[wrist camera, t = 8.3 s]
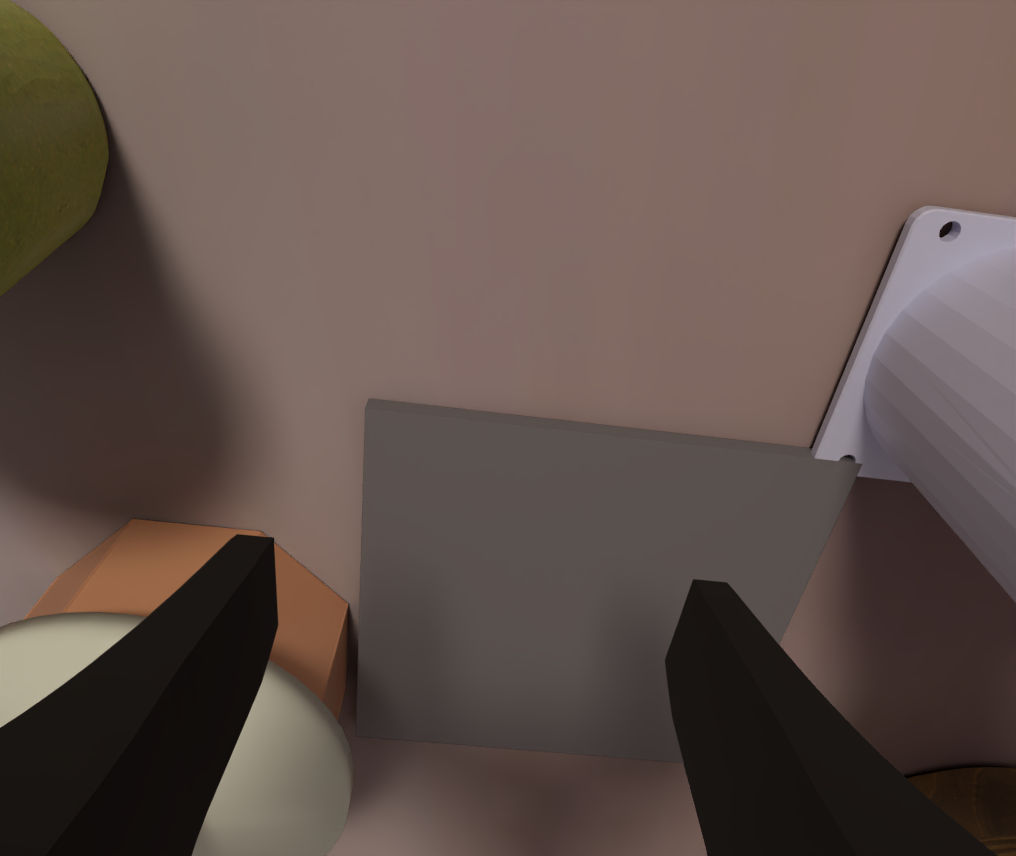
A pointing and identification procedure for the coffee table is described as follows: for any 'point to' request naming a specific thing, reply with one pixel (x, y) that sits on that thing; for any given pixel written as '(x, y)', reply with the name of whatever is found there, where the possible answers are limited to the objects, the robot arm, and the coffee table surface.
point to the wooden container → (977, 802)
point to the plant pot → (43, 145)
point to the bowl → (180, 554)
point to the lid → (255, 759)
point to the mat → (562, 570)
